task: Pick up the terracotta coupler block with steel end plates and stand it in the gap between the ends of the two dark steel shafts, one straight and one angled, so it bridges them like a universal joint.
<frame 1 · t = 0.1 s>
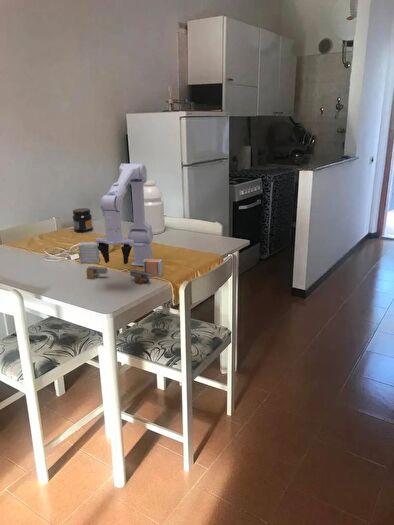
hand: (116, 262, 161), 10 cm above the table, tool pointing down, fingers open, 7 cm apart
supplement container: (83, 230, 243), on the table
shaft rig: (119, 278, 172), on the table
coupler block: (153, 274, 176), on the table
medicine box: (90, 262, 193), on the table
bottle: (152, 231, 238), on the table
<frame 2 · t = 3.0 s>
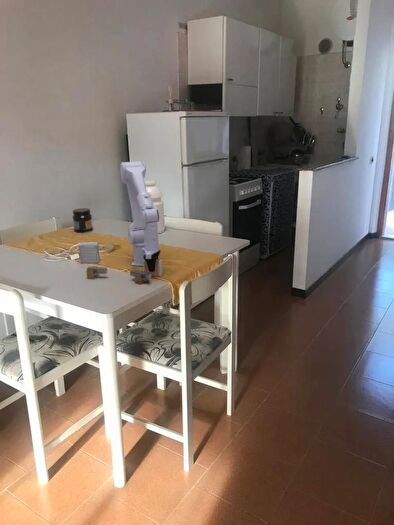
hand: (153, 269, 176), 2 cm above the table, tool pointing down, fingers closed on coupler block, 4 cm apart
coupler block: (153, 274, 176), on the table, touching gripper
everything else where it was.
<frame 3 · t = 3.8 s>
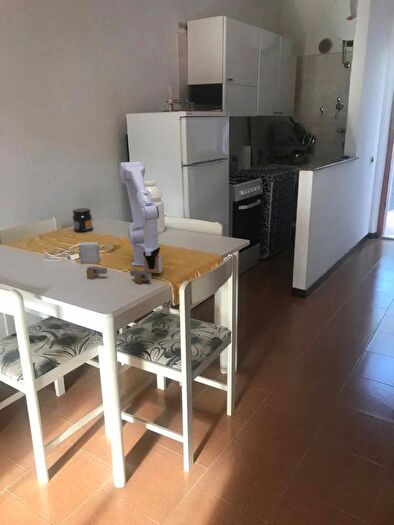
hand: (152, 266, 175), 3 cm above the table, tool pointing down, fingers closed on coupler block, 4 cm apart
coupler block: (153, 271, 176), point 1 cm above the table, touching gripper
everything else where it was.
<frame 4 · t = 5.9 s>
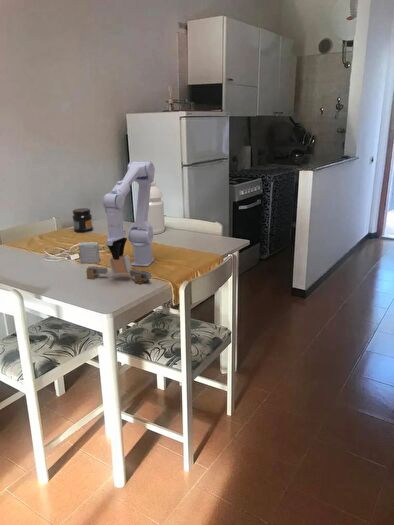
hand: (118, 257, 169), 9 cm above the table, tool pointing down, fingers closed on coupler block, 3 cm apart
coupler block: (122, 271, 171), point 3 cm above the table, tilted 10°, touching gripper
everything else where it was.
when the fingers open (8 cm above the table, at t = 6.3 s): coupler block drops 2 cm, on the table.
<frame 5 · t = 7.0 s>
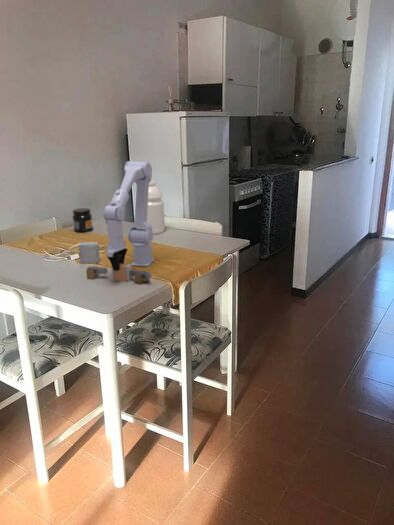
hand: (118, 268, 171), 4 cm above the table, tool pointing down, fingers open, 4 cm apart
coupler block: (122, 279, 172), on the table, touching gripper
everything else where it was.
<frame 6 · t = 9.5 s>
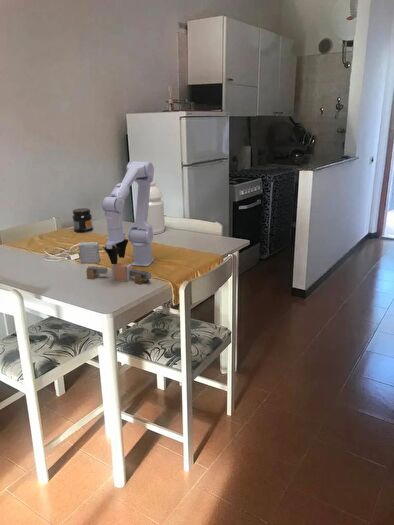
hand: (118, 260, 170), 8 cm above the table, tool pointing down, fingers open, 7 cm apart
coupler block: (122, 279, 172), on the table
everything else where it was.
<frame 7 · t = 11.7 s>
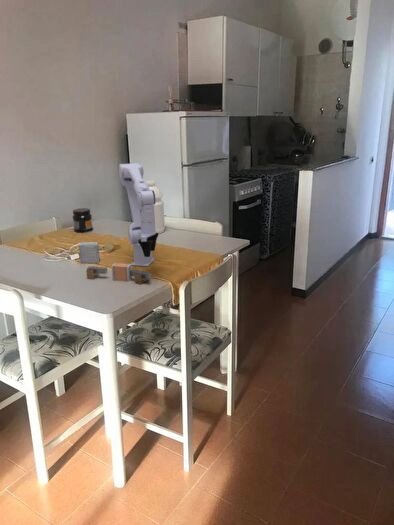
hand: (149, 253, 173), 9 cm above the table, tool pointing down, fingers open, 7 cm apart
nothing on the table moved.
at the end: coupler block 1.4 cm off-centre on the shaft rig, point 0.0 cm above the shaft rig's base; coupler block tilted 0°; the gripper is holding nothing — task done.
